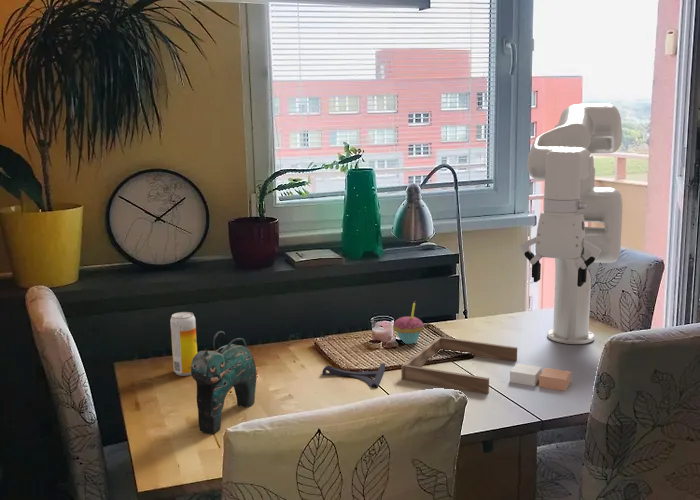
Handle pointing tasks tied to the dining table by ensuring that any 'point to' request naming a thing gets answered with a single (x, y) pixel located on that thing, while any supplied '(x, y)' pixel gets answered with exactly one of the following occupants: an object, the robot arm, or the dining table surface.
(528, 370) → the white square tile
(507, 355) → the frame
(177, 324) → the beer can
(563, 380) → the terracotta tile
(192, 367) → the ceramic cat
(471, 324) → the dining table surface
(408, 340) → the cupcake
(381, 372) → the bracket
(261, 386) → the dining table surface
